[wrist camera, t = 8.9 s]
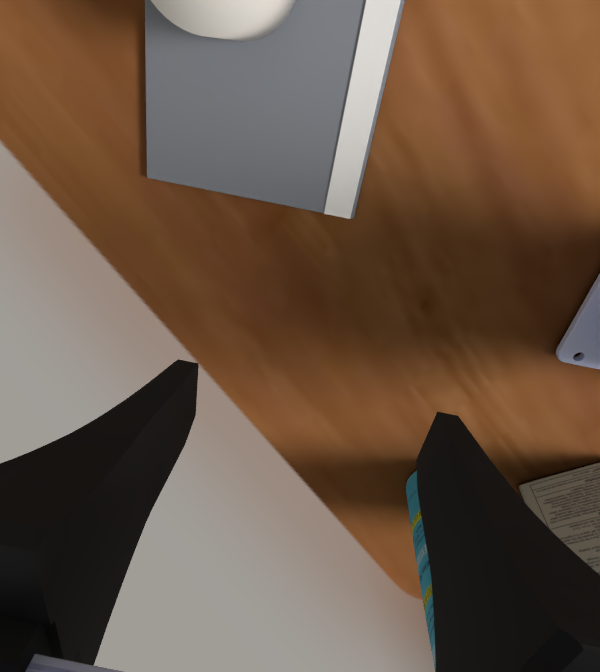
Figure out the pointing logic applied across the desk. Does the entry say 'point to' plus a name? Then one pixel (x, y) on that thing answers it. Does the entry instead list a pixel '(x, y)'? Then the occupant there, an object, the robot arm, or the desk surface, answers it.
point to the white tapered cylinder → (227, 17)
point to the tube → (421, 556)
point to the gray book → (271, 104)
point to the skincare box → (570, 509)
